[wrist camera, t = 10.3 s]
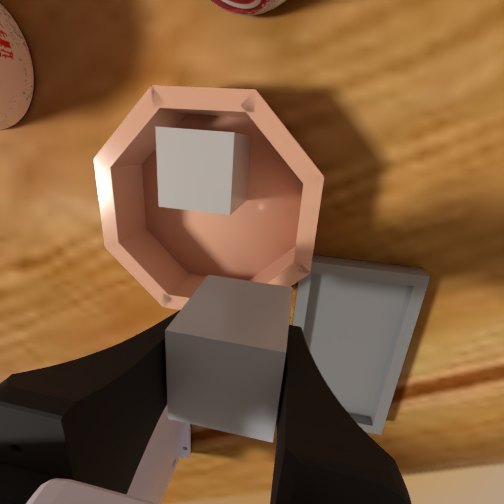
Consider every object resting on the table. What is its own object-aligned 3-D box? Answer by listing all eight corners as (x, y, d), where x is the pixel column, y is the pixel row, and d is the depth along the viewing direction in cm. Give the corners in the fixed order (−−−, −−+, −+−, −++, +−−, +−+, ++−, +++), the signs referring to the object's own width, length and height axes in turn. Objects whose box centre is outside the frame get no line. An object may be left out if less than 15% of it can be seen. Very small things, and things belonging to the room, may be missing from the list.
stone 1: (246, 200, 19) (230, 215, 15) (189, 194, 20) (158, 206, 15) (251, 136, 18) (234, 132, 14) (190, 131, 18) (155, 126, 14)
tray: (377, 420, 24) (381, 435, 23) (282, 401, 25) (280, 415, 24) (422, 267, 19) (430, 276, 18) (301, 253, 20) (301, 260, 19)
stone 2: (282, 357, 14) (272, 442, 10) (206, 343, 15) (167, 418, 11) (292, 287, 13) (285, 352, 9) (208, 274, 14) (165, 330, 9)
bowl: (302, 297, 21) (302, 329, 18) (142, 275, 23) (111, 299, 20) (330, 104, 17) (337, 92, 13) (127, 95, 19) (83, 82, 15)
